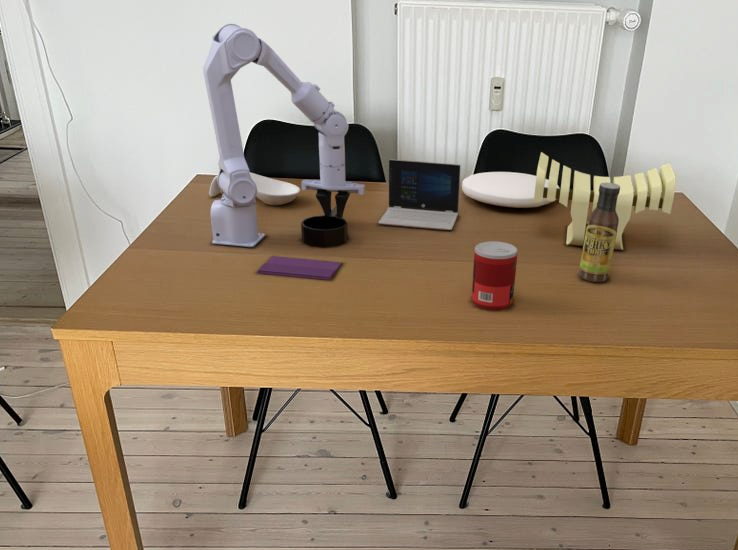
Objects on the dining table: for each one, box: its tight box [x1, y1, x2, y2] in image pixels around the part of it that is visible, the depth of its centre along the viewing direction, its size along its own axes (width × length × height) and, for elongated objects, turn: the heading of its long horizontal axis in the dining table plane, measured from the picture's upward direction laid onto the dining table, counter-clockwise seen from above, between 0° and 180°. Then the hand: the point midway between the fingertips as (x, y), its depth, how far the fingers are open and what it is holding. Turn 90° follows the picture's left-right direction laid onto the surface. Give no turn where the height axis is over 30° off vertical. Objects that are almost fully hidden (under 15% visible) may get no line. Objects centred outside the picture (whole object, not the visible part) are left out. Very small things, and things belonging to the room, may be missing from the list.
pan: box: [300, 205, 349, 248], centre depth 168 cm, size 17×10×4 cm, turn 172°
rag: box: [257, 255, 343, 281], centre depth 150 cm, size 15×9×1 cm, turn 82°
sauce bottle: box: [578, 182, 620, 283], centre depth 148 cm, size 6×6×20 cm
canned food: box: [471, 241, 518, 311], centre depth 137 cm, size 8×8×11 cm
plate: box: [461, 171, 561, 209], centre depth 198 cm, size 28×6×27 cm
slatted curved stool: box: [534, 151, 677, 251], centre depth 169 cm, size 30×16×18 cm, turn 80°
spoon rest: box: [208, 172, 301, 206], centre depth 187 cm, size 24×12×7 cm, turn 80°
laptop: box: [377, 158, 461, 231], centre depth 177 cm, size 18×12×13 cm
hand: (334, 221), depth 172 cm, fingers closed on pan, 2 cm apart
